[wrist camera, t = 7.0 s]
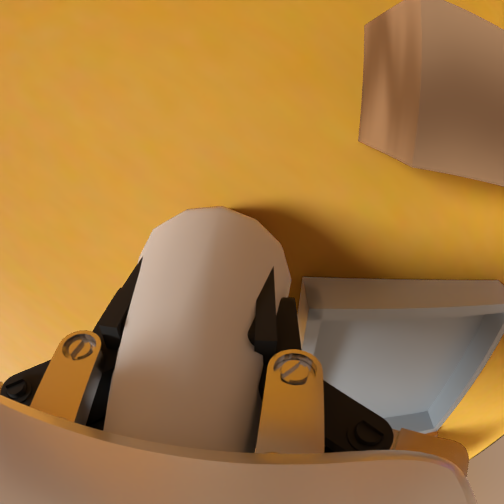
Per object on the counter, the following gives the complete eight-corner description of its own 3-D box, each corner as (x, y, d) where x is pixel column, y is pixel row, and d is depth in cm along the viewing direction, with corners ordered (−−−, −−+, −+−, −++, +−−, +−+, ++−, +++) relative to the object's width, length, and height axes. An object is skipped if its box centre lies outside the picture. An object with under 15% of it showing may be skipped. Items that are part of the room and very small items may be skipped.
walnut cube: (363, 25, 9) (419, -10, 5) (464, 56, 9) (539, 53, 5) (357, 140, 11) (411, 166, 7) (455, 158, 11) (527, 193, 7)
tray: (302, 276, 14) (309, 308, 12) (498, 279, 14) (519, 302, 12) (278, 421, 20) (279, 449, 18) (428, 408, 20) (436, 431, 18)
